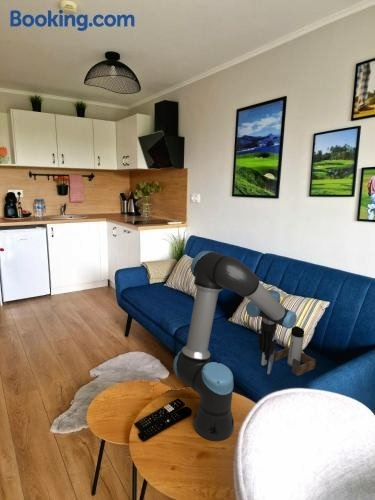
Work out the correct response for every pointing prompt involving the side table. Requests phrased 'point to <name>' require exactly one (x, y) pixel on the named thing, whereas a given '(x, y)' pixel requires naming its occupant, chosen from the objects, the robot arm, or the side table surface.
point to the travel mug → (295, 345)
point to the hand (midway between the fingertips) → (263, 364)
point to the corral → (297, 369)
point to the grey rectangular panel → (270, 362)
